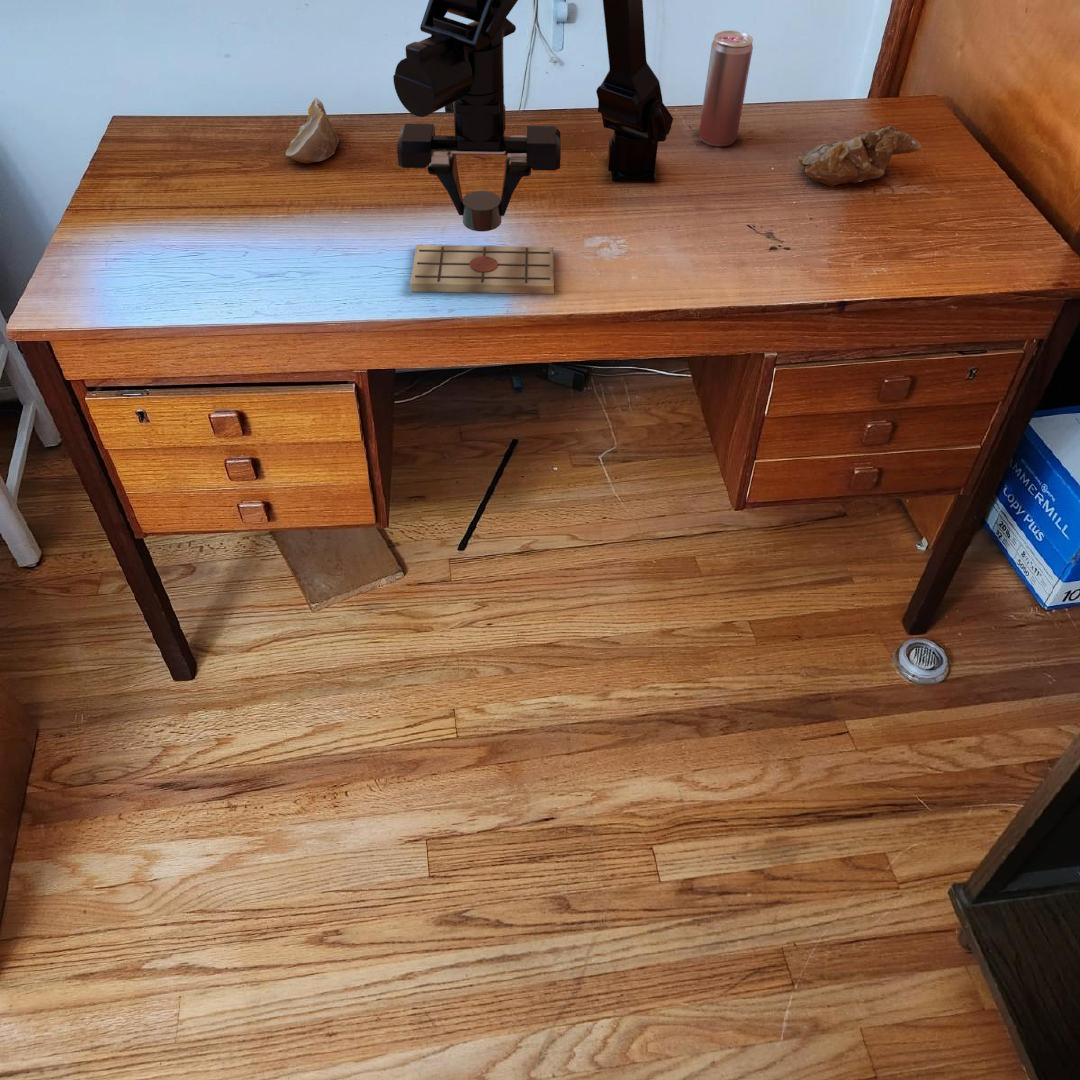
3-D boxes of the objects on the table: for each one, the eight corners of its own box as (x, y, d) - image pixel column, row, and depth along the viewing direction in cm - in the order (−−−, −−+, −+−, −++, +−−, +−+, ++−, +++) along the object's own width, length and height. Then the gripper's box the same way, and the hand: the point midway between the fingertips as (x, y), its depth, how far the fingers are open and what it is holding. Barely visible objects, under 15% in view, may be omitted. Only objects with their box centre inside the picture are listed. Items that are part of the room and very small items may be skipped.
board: (553, 255, 127) (553, 246, 126) (553, 293, 121) (553, 284, 120) (417, 252, 127) (416, 243, 126) (410, 291, 121) (410, 282, 120)
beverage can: (698, 128, 152) (713, 28, 141) (736, 131, 152) (754, 31, 141) (697, 146, 148) (712, 44, 137) (736, 149, 148) (754, 47, 137)
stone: (286, 127, 136) (300, 76, 145) (282, 167, 140) (296, 115, 150) (337, 140, 137) (347, 89, 147) (331, 180, 142) (341, 128, 152)
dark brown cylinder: (502, 211, 120) (501, 190, 118) (500, 232, 117) (500, 211, 115) (463, 211, 120) (462, 190, 118) (461, 231, 117) (460, 210, 115)
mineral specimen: (849, 202, 151) (788, 192, 142) (844, 155, 150) (783, 143, 141) (925, 174, 140) (865, 162, 131) (920, 124, 140) (859, 108, 131)
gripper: (561, 56, 112) (557, 182, 123) (400, 53, 111) (412, 180, 123) (562, 98, 104) (558, 228, 116) (390, 95, 104) (403, 226, 116)
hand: (482, 214), depth 118 cm, fingers closed on dark brown cylinder, 5 cm apart
